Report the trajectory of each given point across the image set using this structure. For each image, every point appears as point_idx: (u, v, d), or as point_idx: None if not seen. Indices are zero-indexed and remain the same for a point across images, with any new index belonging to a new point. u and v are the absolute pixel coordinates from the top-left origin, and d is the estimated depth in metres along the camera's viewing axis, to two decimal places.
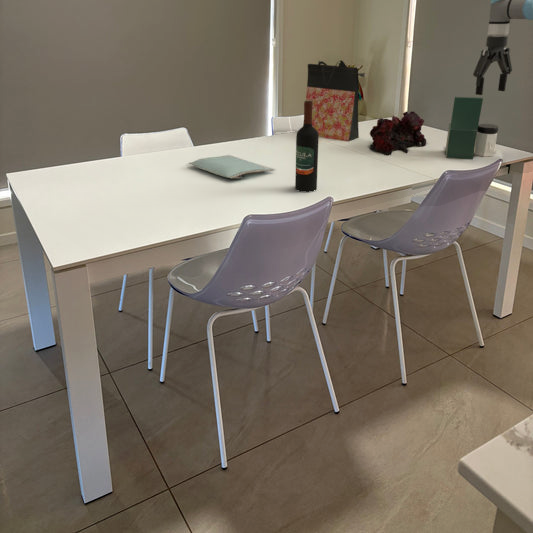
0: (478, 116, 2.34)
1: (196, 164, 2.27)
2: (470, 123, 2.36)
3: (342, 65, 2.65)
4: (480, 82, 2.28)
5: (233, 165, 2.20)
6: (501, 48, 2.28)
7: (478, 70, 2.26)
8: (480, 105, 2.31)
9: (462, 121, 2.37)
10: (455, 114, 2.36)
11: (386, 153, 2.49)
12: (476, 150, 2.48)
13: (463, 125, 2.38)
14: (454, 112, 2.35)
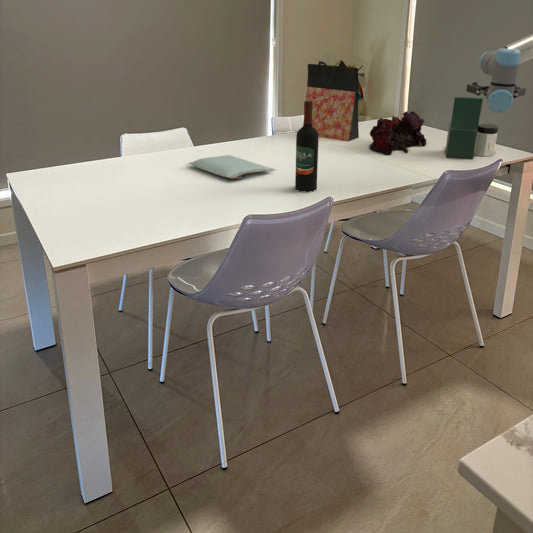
0: (478, 116, 2.34)
1: (196, 164, 2.27)
2: (470, 123, 2.36)
3: (342, 65, 2.65)
4: None
5: (233, 165, 2.20)
6: None
7: (524, 90, 2.11)
8: (480, 105, 2.31)
9: (462, 121, 2.37)
10: (455, 114, 2.36)
11: (386, 153, 2.49)
12: (476, 150, 2.48)
13: (463, 125, 2.38)
14: (454, 112, 2.35)
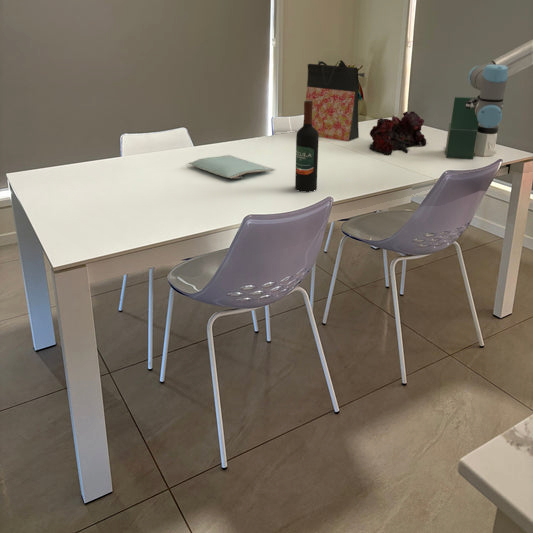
0: None
1: (196, 164, 2.27)
2: (470, 123, 2.36)
3: (342, 65, 2.65)
4: None
5: (233, 165, 2.20)
6: None
7: None
8: None
9: (462, 121, 2.37)
10: (455, 114, 2.36)
11: (386, 153, 2.49)
12: (476, 150, 2.48)
13: (463, 125, 2.38)
14: (454, 112, 2.35)
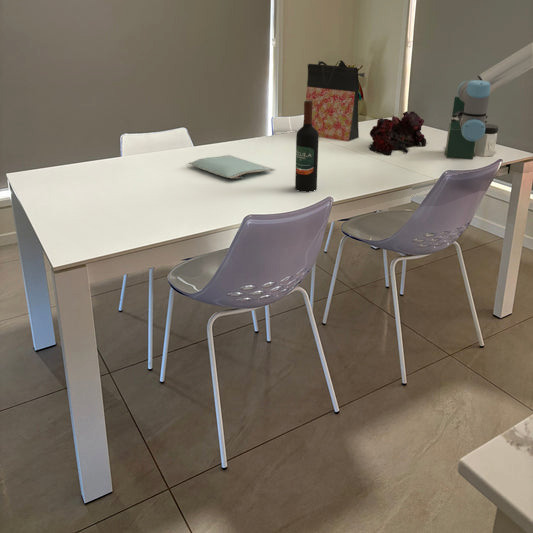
0: None
1: (196, 164, 2.27)
2: None
3: (342, 65, 2.65)
4: None
5: (233, 165, 2.20)
6: None
7: None
8: None
9: None
10: None
11: (386, 153, 2.49)
12: (476, 150, 2.48)
13: None
14: (454, 112, 2.35)
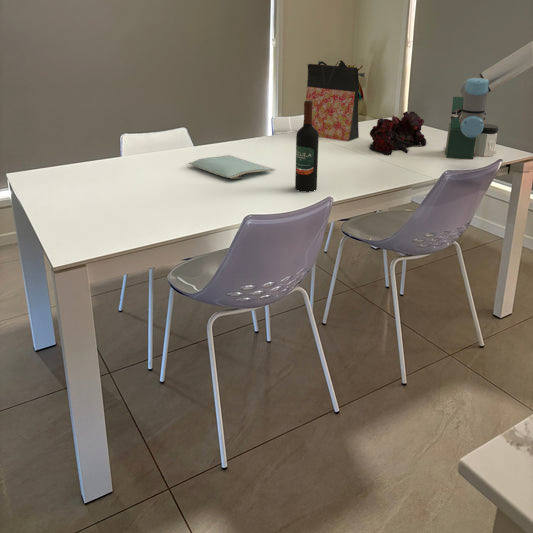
0: None
1: (196, 164, 2.27)
2: None
3: (342, 65, 2.65)
4: None
5: (233, 165, 2.20)
6: None
7: None
8: None
9: None
10: None
11: (386, 153, 2.49)
12: (476, 150, 2.48)
13: None
14: None
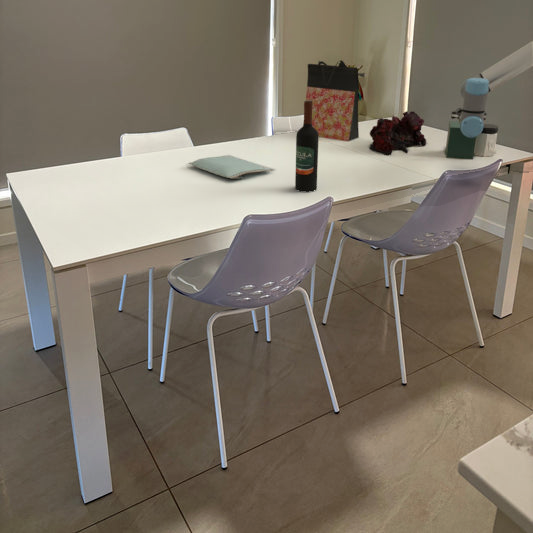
0: None
1: (196, 164, 2.27)
2: None
3: (342, 65, 2.65)
4: None
5: (233, 165, 2.20)
6: None
7: None
8: None
9: None
10: (452, 124, 2.45)
11: (386, 153, 2.49)
12: (476, 150, 2.48)
13: None
14: (451, 123, 2.46)
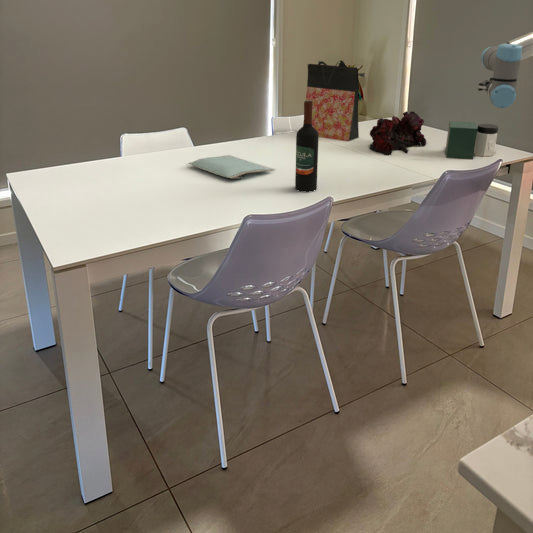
0: (475, 125, 2.43)
1: (196, 164, 2.27)
2: (469, 126, 2.41)
3: (342, 65, 2.65)
4: None
5: (233, 165, 2.20)
6: None
7: None
8: (474, 123, 2.47)
9: (460, 126, 2.42)
10: (452, 124, 2.45)
11: (386, 153, 2.49)
12: (476, 150, 2.48)
13: (462, 127, 2.41)
14: (451, 123, 2.46)
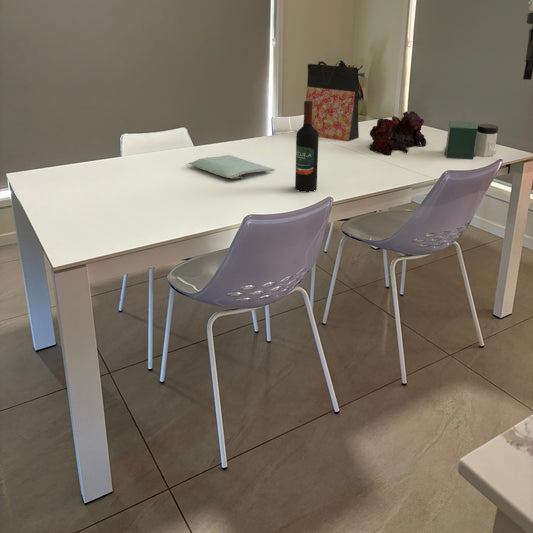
0: (475, 125, 2.43)
1: (196, 164, 2.27)
2: (469, 126, 2.41)
3: (342, 65, 2.65)
4: (532, 66, 2.22)
5: (233, 165, 2.20)
6: None
7: None
8: (474, 123, 2.47)
9: (460, 126, 2.42)
10: (452, 124, 2.45)
11: (386, 153, 2.49)
12: (476, 150, 2.48)
13: (462, 127, 2.41)
14: (451, 123, 2.46)
